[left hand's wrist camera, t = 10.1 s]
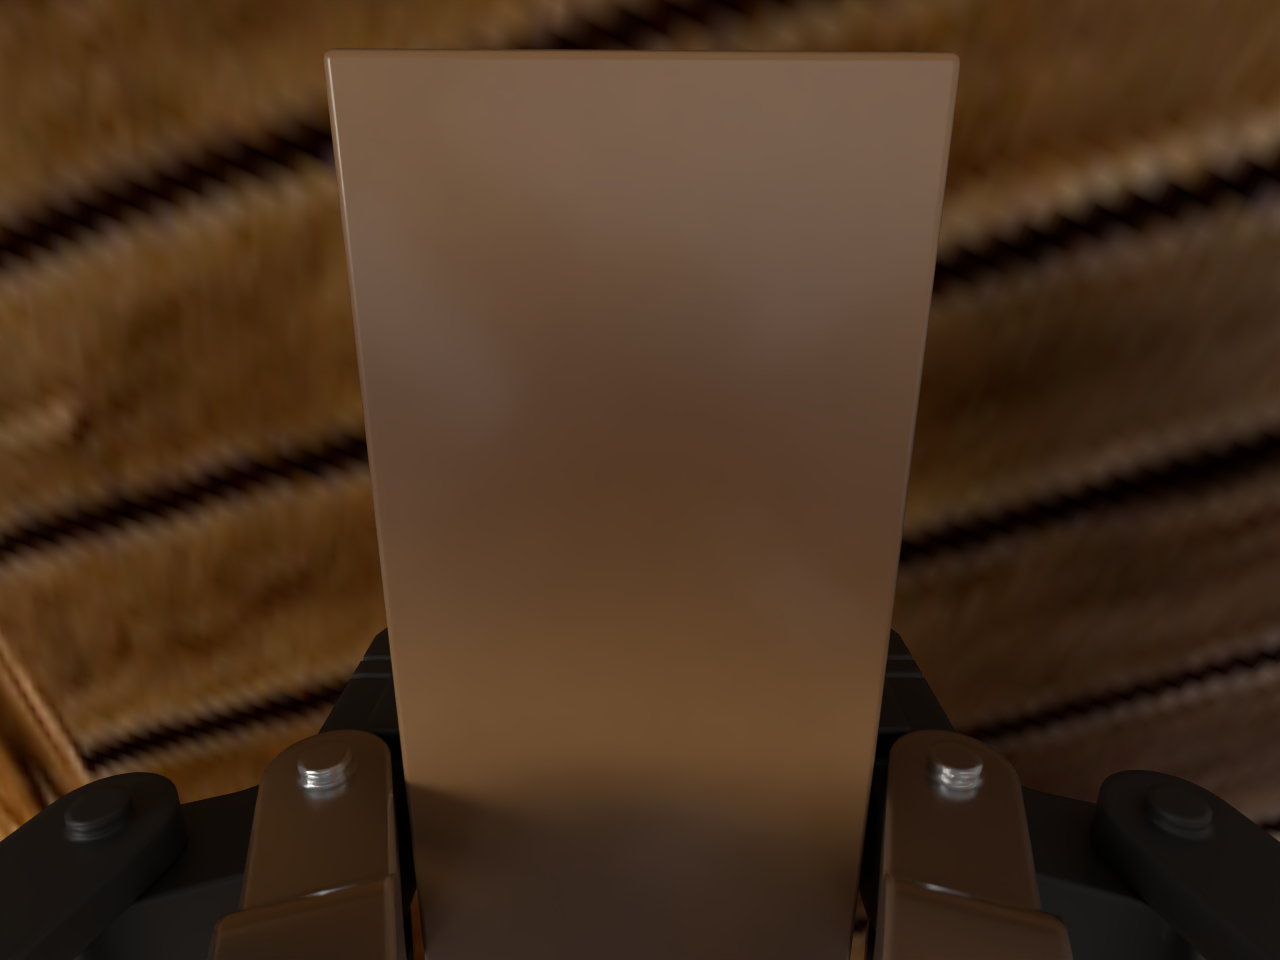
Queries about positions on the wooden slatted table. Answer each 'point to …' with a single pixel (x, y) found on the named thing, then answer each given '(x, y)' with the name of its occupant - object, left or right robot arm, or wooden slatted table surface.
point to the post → (639, 474)
